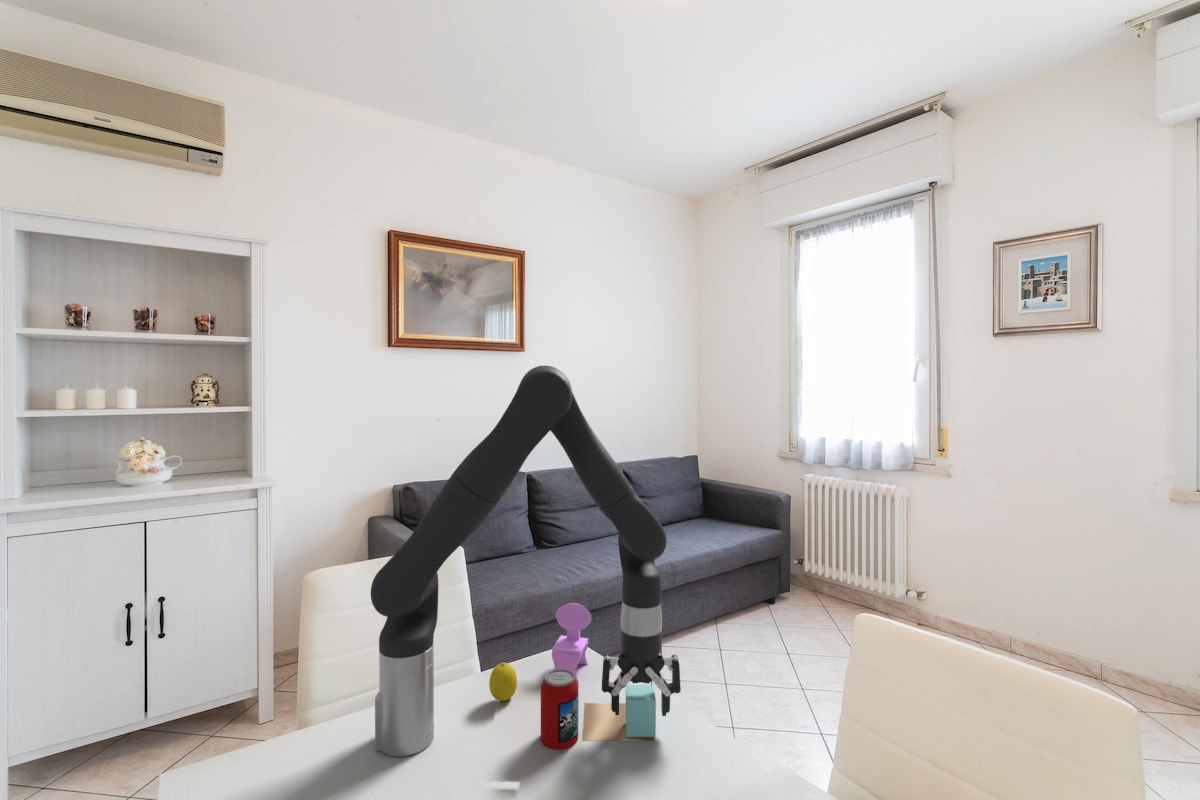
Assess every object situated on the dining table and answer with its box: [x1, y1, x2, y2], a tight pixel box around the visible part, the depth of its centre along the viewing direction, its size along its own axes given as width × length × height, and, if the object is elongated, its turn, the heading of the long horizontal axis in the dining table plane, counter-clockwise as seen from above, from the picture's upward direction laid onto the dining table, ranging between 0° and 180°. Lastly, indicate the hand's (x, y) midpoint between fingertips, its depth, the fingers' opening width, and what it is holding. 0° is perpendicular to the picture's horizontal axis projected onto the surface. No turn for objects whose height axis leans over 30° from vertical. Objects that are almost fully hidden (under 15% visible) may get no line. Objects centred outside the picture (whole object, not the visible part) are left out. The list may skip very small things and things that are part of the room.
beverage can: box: [540, 669, 580, 751], centre depth 103 cm, size 7×7×12 cm
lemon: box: [488, 662, 518, 702], centre depth 116 cm, size 6×6×8 cm
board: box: [582, 702, 656, 742], centre depth 109 cm, size 13×12×1 cm
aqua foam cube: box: [625, 684, 657, 738], centre depth 106 cm, size 5×5×7 cm
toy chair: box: [551, 602, 592, 683], centre depth 127 cm, size 8×9×15 cm
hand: (640, 713), depth 106 cm, fingers open, 8 cm apart
